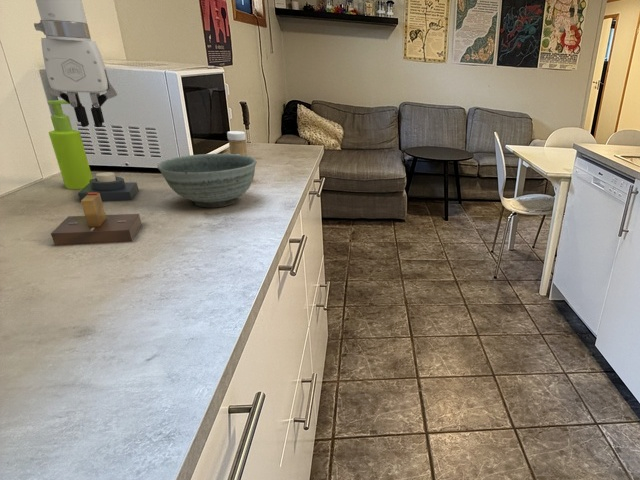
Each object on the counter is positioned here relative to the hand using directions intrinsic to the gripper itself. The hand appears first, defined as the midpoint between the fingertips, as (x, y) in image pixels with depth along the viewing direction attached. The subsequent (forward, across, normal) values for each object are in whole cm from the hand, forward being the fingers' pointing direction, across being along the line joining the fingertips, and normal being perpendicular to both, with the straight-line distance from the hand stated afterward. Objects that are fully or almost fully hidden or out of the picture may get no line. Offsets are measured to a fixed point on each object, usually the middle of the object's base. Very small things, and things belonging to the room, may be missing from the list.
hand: (92, 125), depth 105 cm
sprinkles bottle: (+16, +29, +12) cm, 35 cm away
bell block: (+16, 0, 0) cm, 16 cm away
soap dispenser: (+16, -8, +10) cm, 21 cm away
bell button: (+13, 0, 0) cm, 13 cm away
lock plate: (+16, +4, -28) cm, 33 cm away
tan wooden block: (+14, +4, -28) cm, 31 cm away
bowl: (+16, +23, -8) cm, 29 cm away
